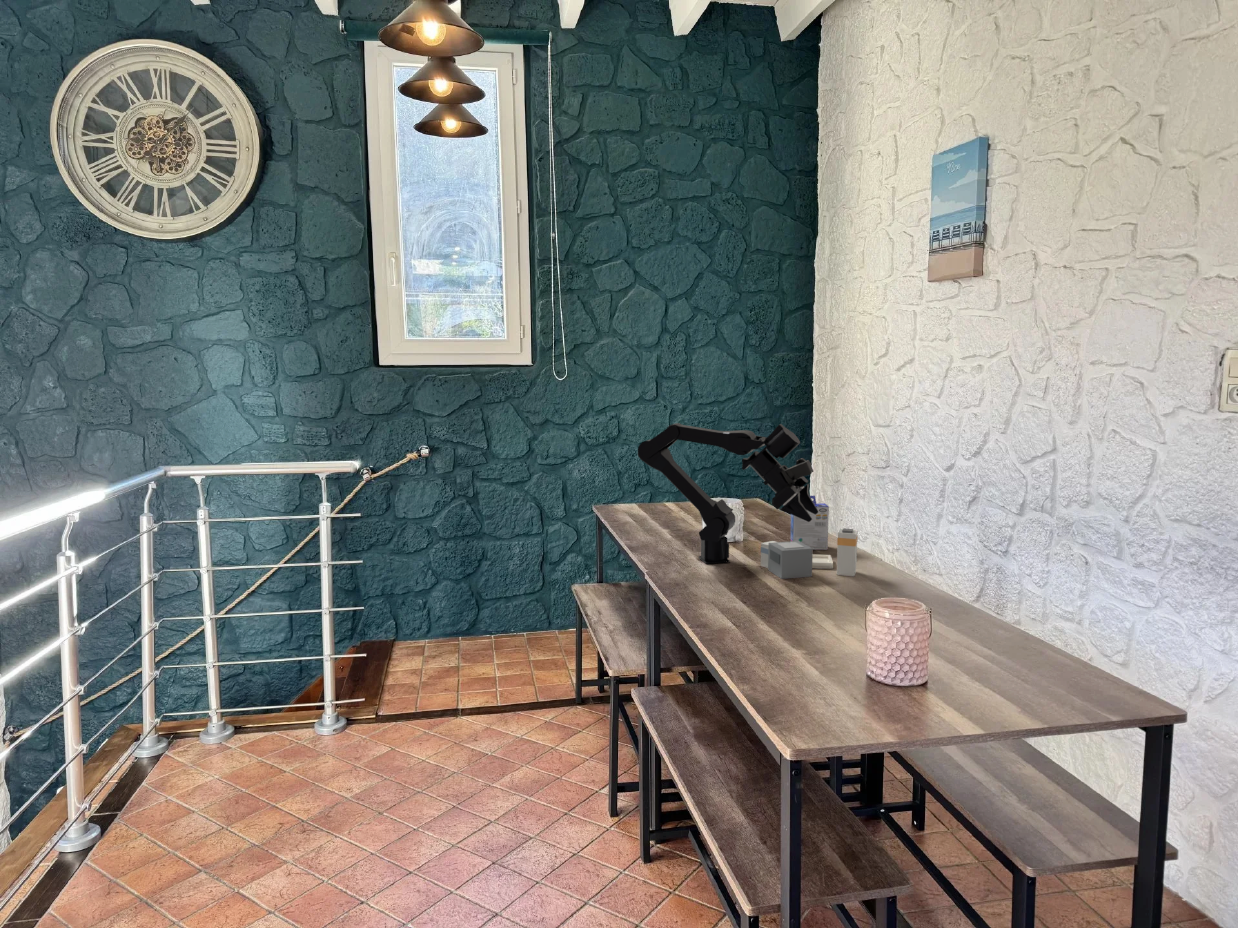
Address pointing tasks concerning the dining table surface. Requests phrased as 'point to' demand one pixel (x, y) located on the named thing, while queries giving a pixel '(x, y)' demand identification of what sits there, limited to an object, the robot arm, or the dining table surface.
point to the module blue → (765, 553)
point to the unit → (790, 559)
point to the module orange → (847, 552)
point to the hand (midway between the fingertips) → (813, 516)
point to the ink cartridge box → (812, 528)
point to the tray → (822, 561)
